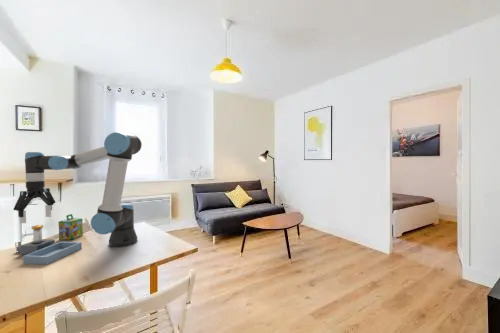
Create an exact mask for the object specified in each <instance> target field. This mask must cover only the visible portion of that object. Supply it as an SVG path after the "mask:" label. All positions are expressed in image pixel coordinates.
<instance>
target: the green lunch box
mask: <svg viewBox="0 0 500 333" xmlns="http://www.w3.org/2000/svg"><path fill="white" fill-rule="evenodd" d="M65 217H66V218H65V219H63V220H60V221H58V239H59V241H63V240H64V241H65V240H69V241H70V240H74V239H77V237H78V238H80V237H82V235H83V236H84V232H83V230H84V228H83V226H84V225H83V218H77V217H75V218H74V216H73V214H72V213H70V214H67V215H66V216H65ZM69 217H70V218H69ZM79 236H80V237H79Z"/></svg>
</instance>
